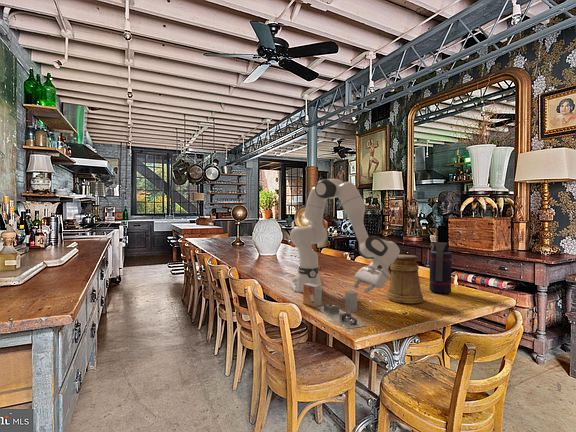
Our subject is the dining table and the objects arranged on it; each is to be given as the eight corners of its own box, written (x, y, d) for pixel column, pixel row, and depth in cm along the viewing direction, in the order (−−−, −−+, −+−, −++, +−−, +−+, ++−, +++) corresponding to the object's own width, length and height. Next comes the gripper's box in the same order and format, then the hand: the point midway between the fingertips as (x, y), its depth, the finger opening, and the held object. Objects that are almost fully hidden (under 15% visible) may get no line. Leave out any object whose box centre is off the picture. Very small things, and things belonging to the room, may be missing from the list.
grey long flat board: (315, 307, 166) (315, 301, 166) (333, 305, 170) (333, 299, 169) (346, 328, 138) (346, 320, 138) (367, 325, 142) (367, 317, 141)
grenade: (430, 288, 206) (431, 240, 205) (452, 291, 200) (453, 241, 199) (427, 293, 194) (428, 242, 193) (449, 296, 188) (451, 244, 187)
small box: (303, 303, 173) (303, 283, 173) (310, 301, 177) (310, 282, 176) (314, 307, 167) (314, 286, 167) (321, 305, 171) (321, 284, 171)
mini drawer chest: (344, 309, 164) (344, 291, 164) (352, 308, 166) (352, 290, 166) (349, 312, 160) (350, 293, 160) (357, 311, 161) (357, 292, 161)
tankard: (410, 306, 169) (411, 258, 168) (373, 296, 188) (374, 252, 187) (429, 301, 179) (430, 255, 179) (393, 291, 198) (393, 250, 198)
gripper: (361, 261, 176) (345, 281, 173) (385, 268, 157) (368, 290, 154) (368, 269, 178) (352, 288, 175) (393, 277, 159) (376, 299, 156)
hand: (360, 289), depth 164 cm, fingers open, 8 cm apart
